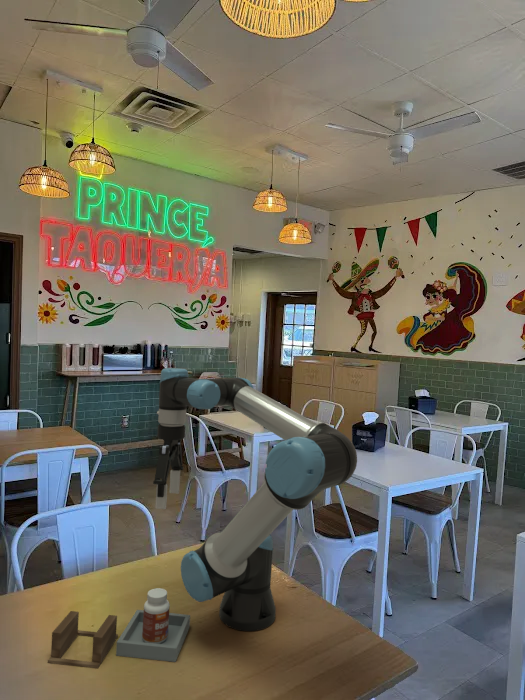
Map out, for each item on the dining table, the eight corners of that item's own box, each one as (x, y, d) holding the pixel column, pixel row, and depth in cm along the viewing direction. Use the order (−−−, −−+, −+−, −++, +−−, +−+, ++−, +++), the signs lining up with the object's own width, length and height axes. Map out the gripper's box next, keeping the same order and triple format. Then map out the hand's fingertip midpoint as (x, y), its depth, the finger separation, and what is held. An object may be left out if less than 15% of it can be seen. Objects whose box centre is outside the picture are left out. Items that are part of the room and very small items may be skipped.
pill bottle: (156, 648, 116) (158, 602, 116) (136, 639, 119) (138, 594, 119) (173, 635, 121) (175, 591, 121) (154, 627, 125) (156, 583, 124)
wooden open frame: (117, 636, 121) (119, 612, 121) (97, 668, 109) (99, 641, 109) (72, 632, 122) (73, 607, 122) (47, 662, 110) (48, 636, 110)
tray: (189, 626, 127) (190, 615, 127) (175, 661, 113) (176, 648, 113) (136, 621, 128) (137, 609, 128) (116, 655, 114) (116, 642, 114)
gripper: (170, 416, 149) (167, 486, 150) (144, 431, 124) (139, 514, 125) (195, 418, 149) (191, 488, 149) (173, 433, 124) (168, 517, 124)
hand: (167, 500), depth 137 cm, fingers open, 13 cm apart
